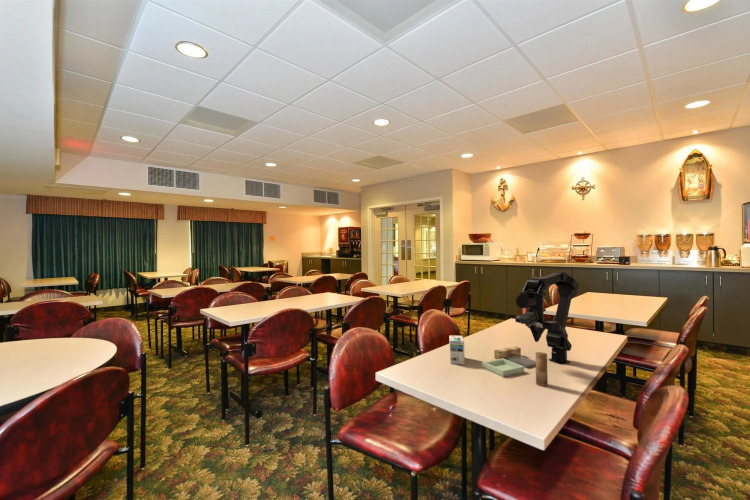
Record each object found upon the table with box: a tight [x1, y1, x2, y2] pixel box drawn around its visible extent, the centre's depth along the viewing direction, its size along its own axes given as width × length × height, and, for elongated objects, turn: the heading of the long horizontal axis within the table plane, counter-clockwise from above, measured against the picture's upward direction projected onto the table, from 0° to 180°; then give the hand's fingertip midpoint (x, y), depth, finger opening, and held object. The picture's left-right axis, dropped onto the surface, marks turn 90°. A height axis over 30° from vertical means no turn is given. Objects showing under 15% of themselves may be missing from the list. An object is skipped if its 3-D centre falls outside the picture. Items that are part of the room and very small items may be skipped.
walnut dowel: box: [535, 351, 549, 388], centre depth 127 cm, size 4×4×12 cm
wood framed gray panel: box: [505, 355, 536, 369], centre depth 152 cm, size 8×12×2 cm, turn 25°
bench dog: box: [493, 346, 522, 360], centre depth 159 cm, size 14×3×4 cm, turn 114°
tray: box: [482, 358, 525, 378], centre depth 143 cm, size 12×12×2 cm
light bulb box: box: [448, 334, 466, 365], centre depth 156 cm, size 11×7×11 cm, turn 168°
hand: (536, 341), depth 144 cm, fingers closed
